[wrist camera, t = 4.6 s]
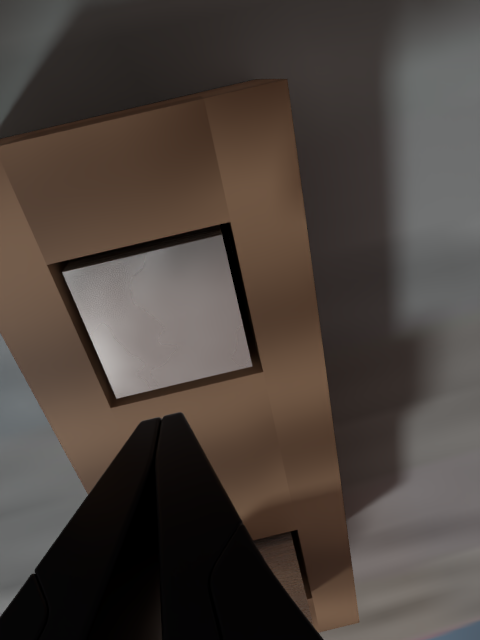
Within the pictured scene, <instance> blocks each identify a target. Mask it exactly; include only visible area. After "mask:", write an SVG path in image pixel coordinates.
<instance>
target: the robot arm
mask: <svg viewBox="0 0 480 640" xmlns="http://www.w3.org/2000/svg"><path fill="white" fill-rule="evenodd" d="M0 640H323V638H322V637H321V636H320V634H319V633H318V632H317V630H316V629H315V628H314V627H313V625H312V624H311V623H310V621H309V620H308V619H307V617H306V616H305V615H304V614H303V612H302V611H301V610H300V608H299V607H298V606H297V604H296V603H295V602H294V601H293V599H292V598H291V597H290V595H289V594H288V593H287V591H286V590H285V589H284V587H283V586H282V584H281V583H280V582H279V580H278V579H277V577H276V576H275V575H274V573H273V572H272V570H271V569H270V568H269V566H268V565H267V563H266V561H265V560H264V558H263V556H262V555H261V553H260V551H259V550H258V548H257V546H256V545H255V543H254V541H253V539H252V538H251V536H250V534H249V532H248V530H247V528H246V527H245V525H243V522H242V520H241V518H240V516H239V514H238V512H237V511H236V509H235V507H234V505H233V503H232V502H231V500H230V498H229V496H228V494H227V492H226V491H225V489H224V487H223V485H222V483H221V481H220V480H219V478H218V476H217V474H216V472H215V471H214V469H213V467H212V465H211V463H210V461H209V460H208V458H207V456H206V454H205V452H204V450H203V449H202V447H201V445H200V443H199V441H198V440H197V438H196V436H195V434H194V432H193V430H192V429H191V427H190V425H189V423H188V421H187V419H186V418H185V416H184V414H183V413H182V412H178V413H173V414H169V415H165V416H164V417H163V418H160V417H156V418H152V419H148V420H144V421H141V422H140V423H139V424H138V426H137V427H136V429H135V430H134V431H133V433H132V434H131V436H130V437H129V438H128V440H127V441H126V443H125V444H124V445H123V447H122V448H121V450H120V451H119V452H118V454H117V455H116V457H115V458H114V459H113V461H112V462H111V464H110V465H109V466H108V468H107V469H106V471H105V472H104V473H103V475H102V476H101V478H100V479H99V480H98V482H97V483H96V485H95V486H94V487H93V489H92V490H91V492H90V493H89V494H88V496H87V497H86V499H85V500H84V501H83V503H82V504H81V506H80V507H79V508H78V510H77V511H76V513H75V514H74V515H73V517H72V518H71V520H70V521H69V522H68V524H67V525H66V527H65V528H64V529H63V531H62V532H61V534H60V535H59V536H58V538H57V539H56V541H55V542H54V543H53V545H52V546H51V548H50V549H49V550H48V552H47V553H46V555H45V556H44V557H43V559H42V560H41V562H40V563H39V564H38V566H37V567H36V569H35V574H31V575H30V577H29V578H28V580H27V581H26V582H25V584H24V585H23V587H22V588H21V589H20V591H19V592H18V594H17V595H16V596H15V598H14V599H13V600H12V602H11V603H10V604H9V606H8V607H7V608H6V610H5V611H4V612H3V614H2V615H1V616H0Z"/></svg>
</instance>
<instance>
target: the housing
mask: <svg viewBox="0 0 480 640" xmlns="http://www.w3.org/2000/svg"><path fill="white" fill-rule="evenodd" d="M223 223H226V226H227V231H228V235H229V240H230V244H231V249H232V253H233V257H234V262H235V266H236V271H237V275H238V280H239V284H240V289H241V293H242V298H243V302H244V304H241V305H238V306H239V310H240V315H241V319H242V323H243V328H244V332H245V336H246V341H247V345H248V349H249V354H250V358H251V362H252V367H248V368H243V369H239V370H235V371H231V372H227V373H222V374H218V375H214V376H210V377H205V378H201V379H197V380H193V381H189V382H184V383H180V384H176V385H172V386H168V387H163V388H159V389H155V390H151V391H147V392H142V393H138V394H134V395H130V396H126V397H121V398H116V396H115V394H114V391H113V389H112V387H111V384H110V382H109V380H108V377H107V375H106V373H105V370H104V368H103V366H102V363H101V361H100V359H99V357H98V354H97V352H96V350H95V347H94V345H93V343H92V340H91V338H90V336H89V333H88V331H87V329H86V326H85V324H84V322H83V319H82V317H81V315H80V312H79V310H78V308H77V305H76V303H75V301H74V298H73V296H72V294H71V291H70V289H69V287H68V284H67V282H66V280H65V277H64V275H63V273H62V272H63V270H64V269H65V267H66V265H67V264H68V262H69V261H70V259H74V258H79V257H83V256H87V255H91V254H96V253H100V252H104V251H108V250H113V249H117V248H121V247H125V246H130V245H134V244H138V243H142V242H147V241H151V240H155V239H159V238H164V237H168V236H172V235H176V234H181V233H185V232H189V231H193V230H198V229H202V228H206V227H210V226H215V225H219V224H223ZM0 333H1V335H2V337H3V339H4V340H5V342H6V344H7V346H8V348H9V350H10V351H11V353H12V355H13V357H14V359H15V361H16V363H17V364H18V366H19V368H20V370H21V372H22V374H23V375H24V377H25V379H26V381H27V383H28V385H29V386H30V388H31V390H32V392H33V394H34V396H35V398H36V399H37V401H38V403H39V405H40V407H41V409H42V410H43V412H44V414H45V416H46V418H47V420H48V422H49V423H50V425H51V427H52V429H53V431H54V433H55V434H56V436H57V438H58V440H59V442H60V444H61V445H62V447H63V449H64V451H65V453H66V455H67V457H68V458H69V460H70V462H71V464H72V466H73V468H74V469H75V471H76V473H77V475H78V477H79V479H80V480H81V482H82V484H83V486H84V488H85V490H86V492H87V493H88V494H89V493H90V492H91V490H92V489H93V487H94V486H95V485H96V483H97V482H98V480H99V479H100V478H101V476H102V475H103V473H104V472H105V471H106V469H107V468H108V466H109V465H110V464H111V462H112V461H113V459H114V458H115V457H116V455H117V454H118V452H119V451H120V450H121V448H122V447H123V445H124V444H125V443H126V441H127V440H128V438H129V437H130V436H131V434H132V433H133V431H134V430H135V429H136V427H137V426H138V424H139V423H140V422H141V421H144V420H148V419H152V418H156V417H160V418H163V417H164V416H165V415H169V414H173V413H178V412H182V413H183V414H184V416H185V418H186V419H187V421H188V423H189V425H190V427H191V429H192V430H193V432H194V434H195V436H196V438H197V440H198V441H199V443H200V445H201V447H202V449H203V450H204V452H205V454H206V456H207V458H208V460H209V461H210V463H211V465H212V467H213V469H214V471H215V472H216V474H217V476H218V478H219V480H220V481H221V483H222V485H223V487H224V489H225V491H226V492H227V494H228V496H229V498H230V500H231V502H232V503H233V505H234V507H235V509H236V511H237V512H238V514H239V516H240V518H241V520H242V522H243V525H245V527H246V528H247V530H248V532H249V534H250V536H251V538H252V539H253V540H256V539H260V538H265V537H269V536H273V535H277V534H281V533H285V532H291V536H292V540H293V544H294V548H295V552H296V556H297V560H298V565H299V569H300V573H301V577H302V581H303V585H304V589H305V593H306V597H307V601H308V605H309V609H310V613H311V618H312V622H313V626H314V628H315V629H316V630H317V632H322V631H326V630H330V629H335V628H339V627H343V626H347V625H351V624H355V623H359V615H358V608H357V600H356V592H355V585H354V577H353V570H352V562H351V555H350V547H349V540H348V532H347V525H346V517H345V510H344V502H343V495H342V487H341V480H340V472H339V465H338V457H337V450H336V442H335V435H334V427H333V419H332V412H331V404H330V397H329V389H328V382H327V374H326V367H325V359H324V352H323V344H322V337H321V329H320V322H319V314H318V307H317V299H316V292H315V284H314V277H313V269H312V262H311V254H310V246H309V239H308V231H307V224H306V216H305V209H304V201H303V194H302V186H301V179H300V171H299V164H298V156H297V149H296V141H295V134H294V126H293V119H292V111H291V104H290V96H289V88H288V81H287V79H255V80H251V81H247V82H242V83H238V84H234V85H230V86H225V87H221V88H217V89H212V90H208V91H204V92H199V93H195V94H191V95H187V96H182V97H178V98H174V99H169V100H165V101H161V102H157V103H152V104H148V105H144V106H139V107H135V108H131V109H126V110H122V111H118V112H114V113H109V114H105V115H101V116H96V117H92V118H88V119H84V120H79V121H75V122H71V123H66V124H62V125H58V126H53V127H49V128H45V129H41V130H36V131H32V132H28V133H23V134H19V135H15V136H11V137H6V138H2V139H0Z"/></svg>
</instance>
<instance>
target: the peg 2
mask: <svg viewBox="0 0 480 640" xmlns="http://www.w3.org/2000/svg"><path fill="white" fill-rule="evenodd" d="M253 541H254V543H255V545H256V546H257V548H258V550H259V551H260V553H261V555H262V556H263V558H264V560H265V561H266V563H267V565H268V566H269V568H270V569H271V570H272V572H273V573H274V575H275V576H276V577H277V579H278V580H279V582H280V583H281V584H282V586H283V587H284V589H285V590H286V591H287V593H288V594H289V595H290V597H291V598H292V599H293V601H294V602H295V603H296V604H297V606H298V607H299V608H300V610H301V611H302V612H303V614H304V615H305V616H306V617H307V619H308V620H309V621H310V623H311V624H312V625H313V622H312V618H311V613H310V609H309V605H308V601H307V597H306V593H305V589H304V585H303V581H302V577H301V573H300V569H299V565H298V560H297V556H296V552H295V548H294V544H293V540H292V536H291V532H285V533H281V534H277V535H273V536H269V537H265V538H260V539H256V540H253ZM313 627H314V626H313Z"/></svg>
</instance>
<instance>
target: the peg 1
mask: <svg viewBox="0 0 480 640" xmlns="http://www.w3.org/2000/svg"><path fill="white" fill-rule="evenodd" d="M62 273H63V275H64V277H65V280H66V282H67V284H68V287H69V289H70V291H71V294H72V296H73V298H74V301H75V303H76V305H77V308H78V310H79V312H80V315H81V317H82V319H83V322H84V324H85V326H86V329H87V331H88V333H89V336H90V338H91V340H92V343H93V345H94V347H95V350H96V352H97V354H98V357H99V359H100V361H101V363H102V366H103V368H104V370H105V373H106V375H107V377H108V380H109V382H110V384H111V387H112V389H113V391H114V394H115V396H116V398H121V397H126V396H130V395H134V394H138V393H142V392H147V391H151V390H155V389H159V388H163V387H168V386H172V385H176V384H180V383H184V382H189V381H193V380H197V379H201V378H205V377H210V376H214V375H218V374H222V373H227V372H231V371H235V370H239V369H243V368H248V367H252V362H251V358H250V354H249V349H248V345H247V341H246V336H245V332H244V328H243V323H242V319H241V315H240V310H239V306H238V302H237V297H236V293H235V289H234V284H233V280H232V276H231V271H230V267H229V263H228V258H227V254H226V249H225V245H224V241H223V236H222V233H221V229H220V225H215V226H210V227H206V228H202V229H198V230H193V231H189V232H185V233H181V234H176V235H172V236H168V237H164V238H159V239H155V240H151V241H147V242H142V243H138V244H134V245H130V246H125V247H121V248H117V249H113V250H108V251H104V252H100V253H96V254H91V255H87V256H83V257H79V258H74V259H70V261H69V262H68V264H67V265H66V267H65V269H64V270H63V272H62Z"/></svg>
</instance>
